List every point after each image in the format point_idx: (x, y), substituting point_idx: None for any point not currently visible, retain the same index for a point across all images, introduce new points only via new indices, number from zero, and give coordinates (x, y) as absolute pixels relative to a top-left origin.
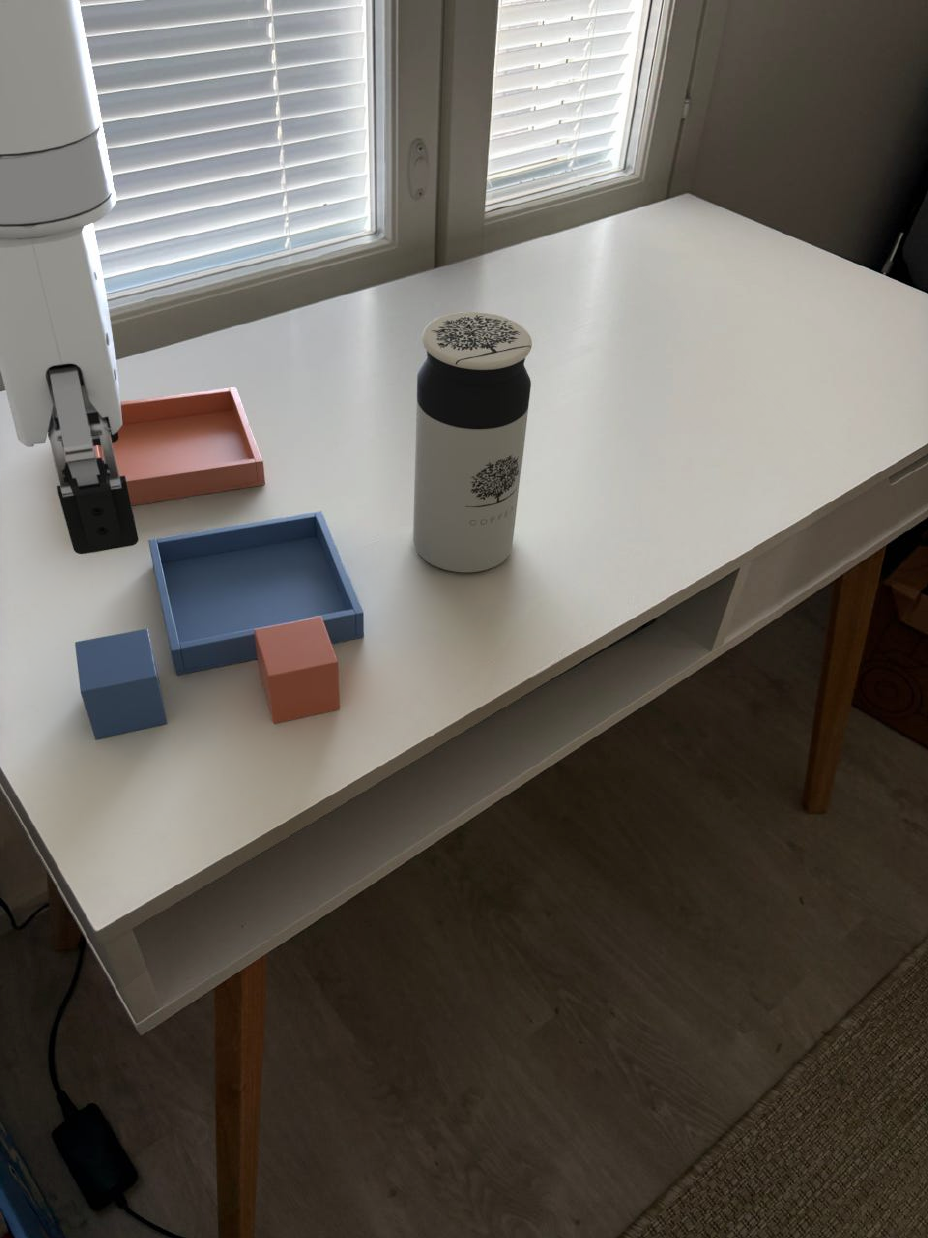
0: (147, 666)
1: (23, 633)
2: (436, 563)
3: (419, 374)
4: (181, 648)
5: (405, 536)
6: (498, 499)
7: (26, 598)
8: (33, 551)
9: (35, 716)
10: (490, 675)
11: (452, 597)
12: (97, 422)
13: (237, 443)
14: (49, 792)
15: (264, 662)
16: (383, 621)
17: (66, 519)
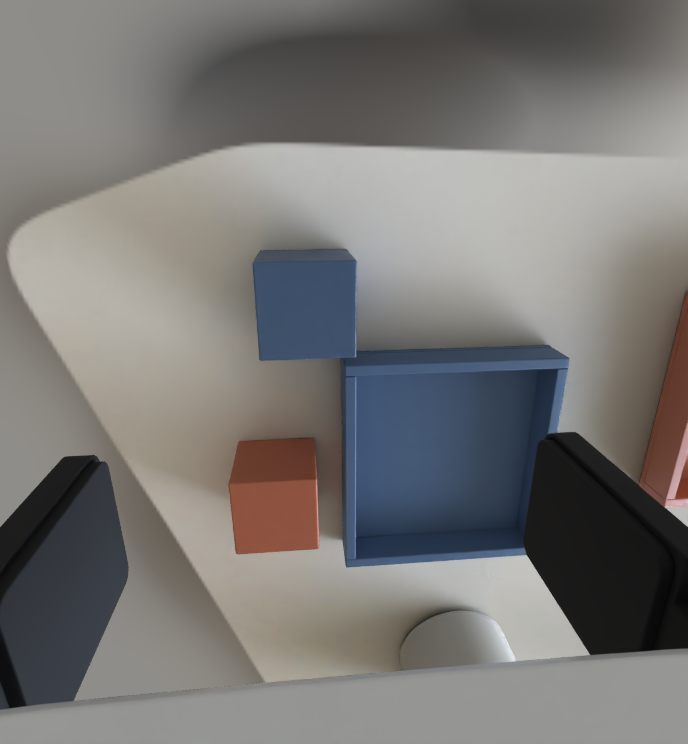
0: (281, 351)
1: (479, 169)
2: (422, 626)
3: None
4: (345, 378)
5: (483, 602)
6: None
7: (548, 176)
8: (643, 191)
9: (319, 178)
10: (257, 631)
11: (375, 623)
12: (560, 564)
13: None
14: (187, 189)
15: (253, 483)
16: None
17: (1, 527)
